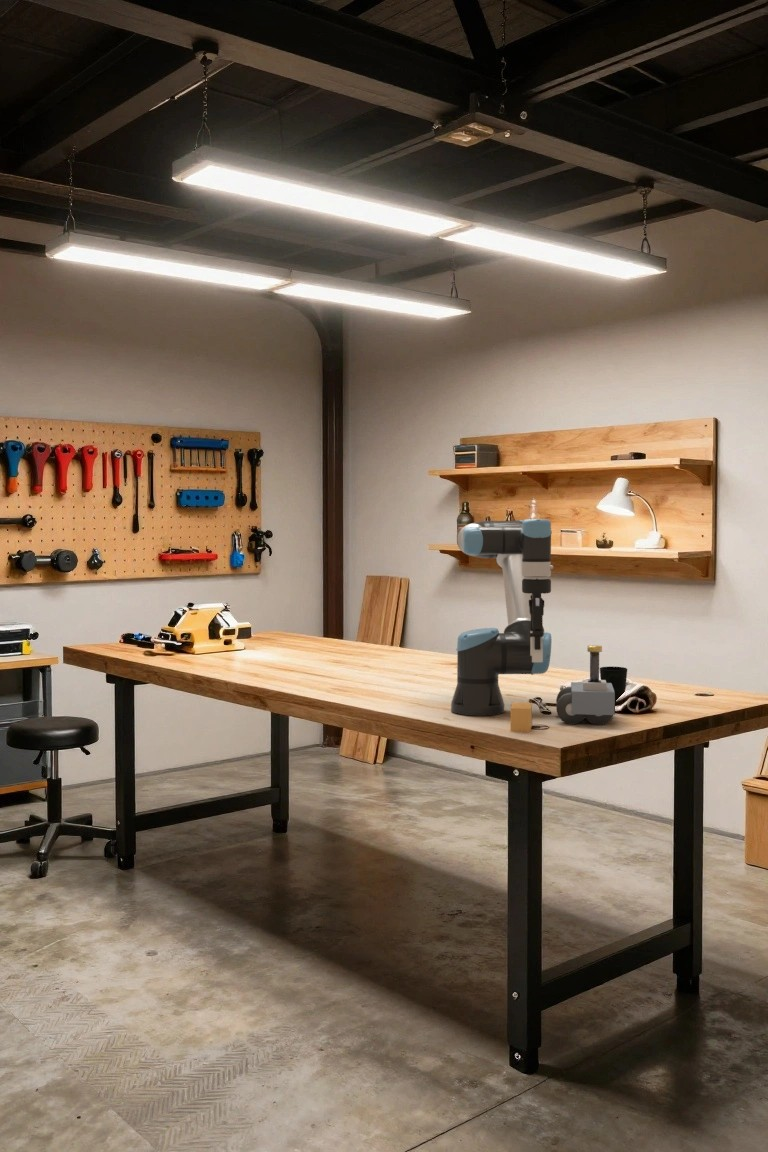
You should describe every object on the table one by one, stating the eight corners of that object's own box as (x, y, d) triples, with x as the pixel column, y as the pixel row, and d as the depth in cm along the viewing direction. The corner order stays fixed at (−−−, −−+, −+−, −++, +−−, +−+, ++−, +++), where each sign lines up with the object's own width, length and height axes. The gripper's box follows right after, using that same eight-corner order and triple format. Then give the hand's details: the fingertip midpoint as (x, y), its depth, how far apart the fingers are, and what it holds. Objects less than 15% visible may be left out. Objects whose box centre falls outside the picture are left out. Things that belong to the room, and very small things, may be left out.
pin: (587, 689, 273) (587, 646, 272) (587, 687, 276) (587, 645, 276) (602, 689, 272) (602, 647, 272) (601, 687, 276) (601, 645, 275)
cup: (623, 707, 296) (623, 666, 296) (630, 712, 289) (630, 670, 288) (596, 708, 296) (596, 666, 296) (603, 712, 289) (603, 670, 288)
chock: (510, 731, 264) (510, 708, 264) (513, 724, 273) (513, 702, 273) (530, 732, 263) (530, 708, 263) (532, 725, 272) (532, 702, 272)
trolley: (556, 725, 271) (556, 683, 271) (556, 713, 287) (556, 674, 287) (614, 726, 269) (614, 684, 268) (611, 715, 285) (611, 675, 284)
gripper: (553, 580, 256) (553, 665, 257) (548, 575, 281) (548, 652, 282) (523, 580, 257) (523, 664, 258) (521, 575, 282) (520, 652, 283)
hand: (536, 658), depth 270 cm, fingers open, 13 cm apart
